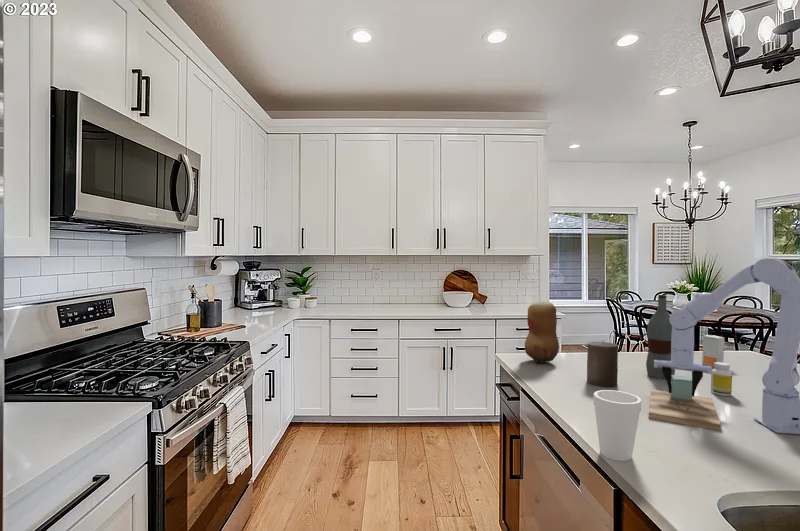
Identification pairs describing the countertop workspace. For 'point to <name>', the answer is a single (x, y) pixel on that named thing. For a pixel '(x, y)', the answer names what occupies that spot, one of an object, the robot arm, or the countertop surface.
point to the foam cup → (616, 423)
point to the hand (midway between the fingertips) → (681, 393)
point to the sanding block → (681, 389)
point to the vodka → (659, 339)
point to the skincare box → (712, 350)
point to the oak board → (684, 410)
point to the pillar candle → (602, 364)
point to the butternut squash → (542, 332)
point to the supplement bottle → (721, 379)
